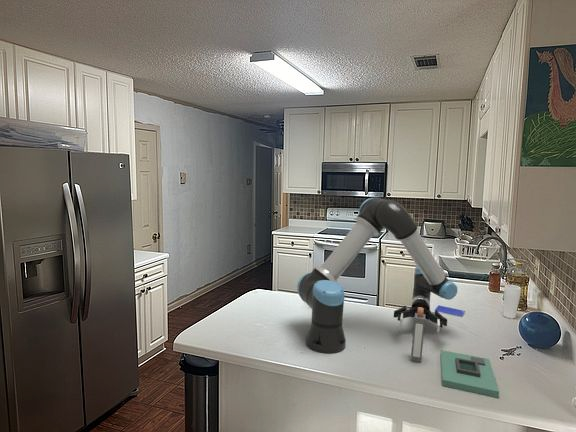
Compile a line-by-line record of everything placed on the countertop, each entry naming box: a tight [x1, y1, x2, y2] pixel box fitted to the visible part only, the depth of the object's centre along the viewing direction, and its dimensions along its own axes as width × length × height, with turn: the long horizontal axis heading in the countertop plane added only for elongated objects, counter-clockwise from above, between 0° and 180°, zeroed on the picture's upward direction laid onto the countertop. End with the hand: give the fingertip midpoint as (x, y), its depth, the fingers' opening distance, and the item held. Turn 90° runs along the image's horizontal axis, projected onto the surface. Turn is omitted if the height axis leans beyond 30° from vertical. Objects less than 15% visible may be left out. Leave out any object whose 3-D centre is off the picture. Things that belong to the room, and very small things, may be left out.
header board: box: [440, 349, 500, 398], centre depth 132 cm, size 22×16×3 cm
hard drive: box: [434, 304, 466, 319], centre depth 190 cm, size 2×8×12 cm
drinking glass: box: [502, 283, 522, 320], centre depth 186 cm, size 7×7×15 cm
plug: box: [410, 307, 426, 363], centre depth 141 cm, size 5×4×19 cm, turn 160°
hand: (419, 325), depth 149 cm, fingers open, 13 cm apart
